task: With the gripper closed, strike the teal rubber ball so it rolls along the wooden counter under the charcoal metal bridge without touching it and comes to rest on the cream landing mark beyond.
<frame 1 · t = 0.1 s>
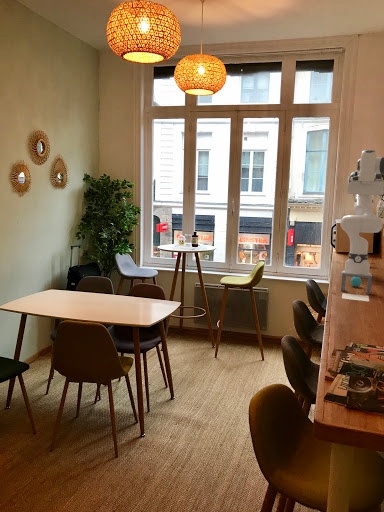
hand: (364, 202, 269), 48 cm above the bar counter, tool pointing down, fingers open, 8 cm apart
ball: (356, 281, 264), on the bar counter
bridge: (355, 292, 249), on the bar counter
landing mark: (355, 297, 236), on the bar counter
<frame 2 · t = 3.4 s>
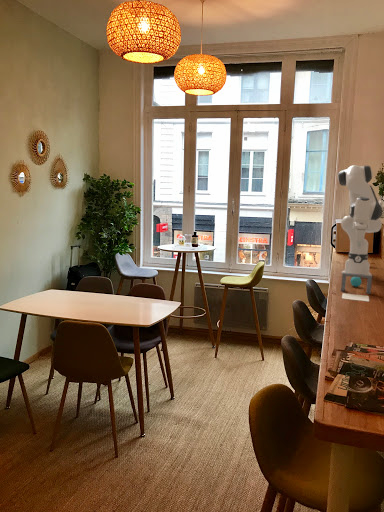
hand: (358, 248, 271), 21 cm above the bar counter, tool pointing down, fingers closed
nothing on the bar counter moved.
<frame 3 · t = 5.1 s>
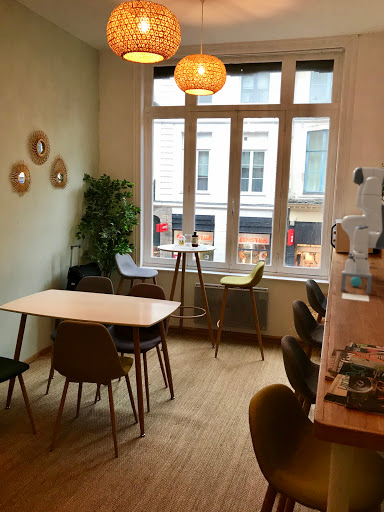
hand: (357, 276, 272), 4 cm above the bar counter, tool pointing down, fingers closed
nothing on the bar counter moved.
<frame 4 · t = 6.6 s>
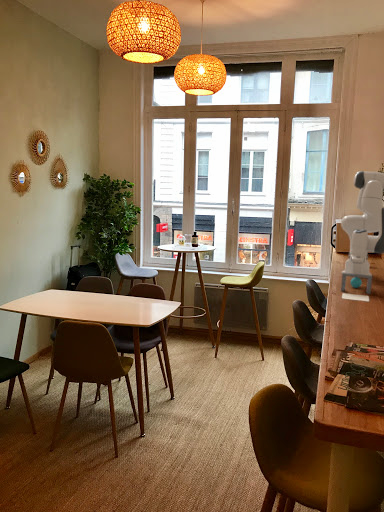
hand: (355, 281, 265), 3 cm above the bar counter, tool pointing down, fingers closed
ball: (356, 282, 261), on the bar counter
everything else where it was.
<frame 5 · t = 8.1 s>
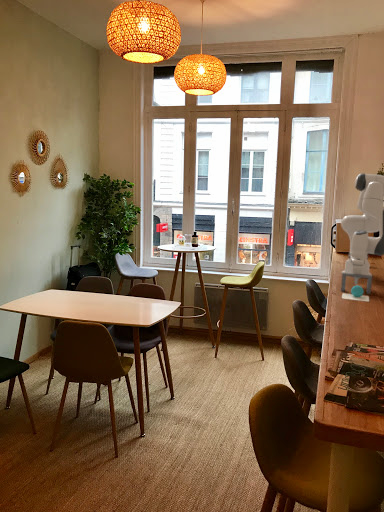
hand: (355, 283, 261), 2 cm above the bar counter, tool pointing down, fingers closed
ball: (357, 291, 237), on the bar counter
everything else where it was.
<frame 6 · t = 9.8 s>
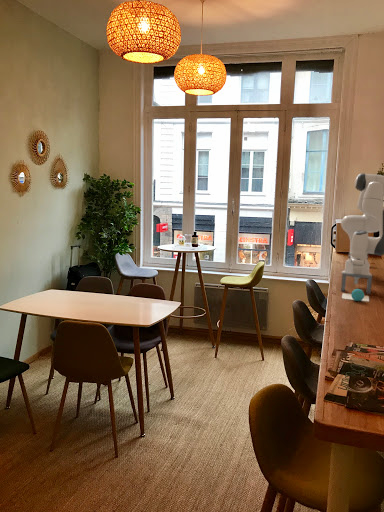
hand: (355, 283, 261), 2 cm above the bar counter, tool pointing down, fingers closed
ball: (357, 294, 228), on the bar counter
everything else where it was.
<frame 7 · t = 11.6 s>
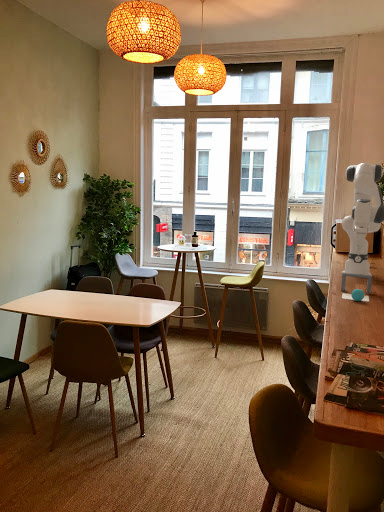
hand: (358, 253, 259), 20 cm above the bar counter, tool pointing down, fingers closed
nothing on the bar counter moved.
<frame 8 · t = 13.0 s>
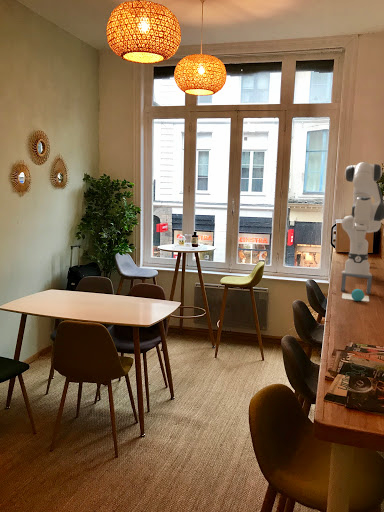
hand: (359, 250, 258), 21 cm above the bar counter, tool pointing down, fingers closed
nothing on the bar counter moved.
at the end: ball 7.5 cm from the landing mark (horizontally); ball never touched bridge; ball at rest at the end (0.0 cm/s) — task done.
